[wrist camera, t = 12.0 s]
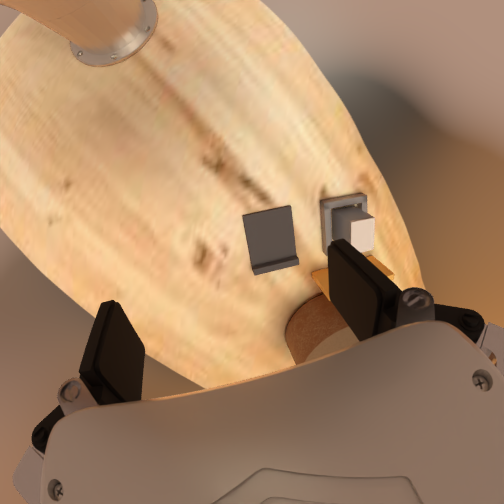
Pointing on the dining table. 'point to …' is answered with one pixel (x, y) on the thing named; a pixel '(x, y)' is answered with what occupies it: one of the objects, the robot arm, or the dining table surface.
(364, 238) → the plug
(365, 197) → the port
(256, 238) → the dark grey lipped plate
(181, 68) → the dining table surface
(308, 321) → the planter
